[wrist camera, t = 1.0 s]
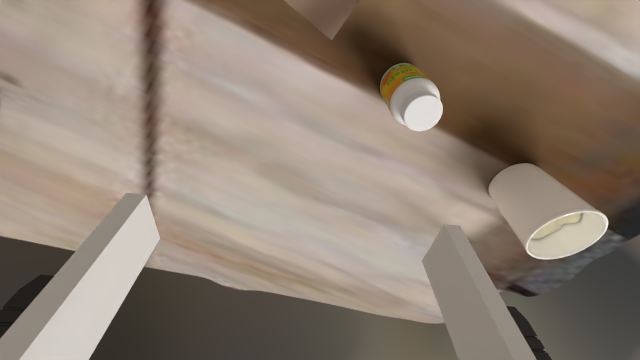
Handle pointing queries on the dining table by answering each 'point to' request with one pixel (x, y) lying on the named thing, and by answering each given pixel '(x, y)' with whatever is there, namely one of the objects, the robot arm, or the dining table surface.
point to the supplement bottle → (411, 97)
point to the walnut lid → (325, 13)
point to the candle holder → (545, 212)
